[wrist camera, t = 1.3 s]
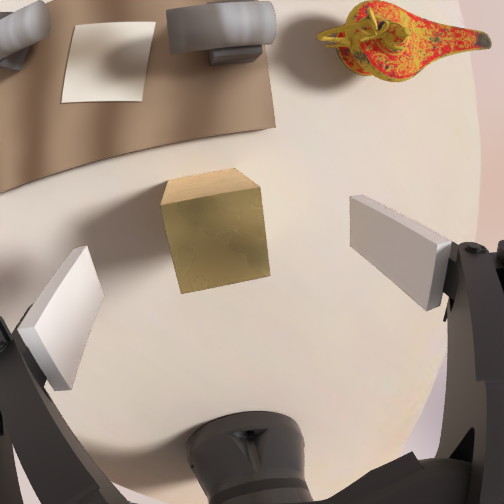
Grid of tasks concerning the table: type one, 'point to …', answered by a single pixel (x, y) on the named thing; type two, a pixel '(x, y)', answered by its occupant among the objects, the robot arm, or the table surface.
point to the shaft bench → (127, 78)
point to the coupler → (215, 229)
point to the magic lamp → (397, 41)
